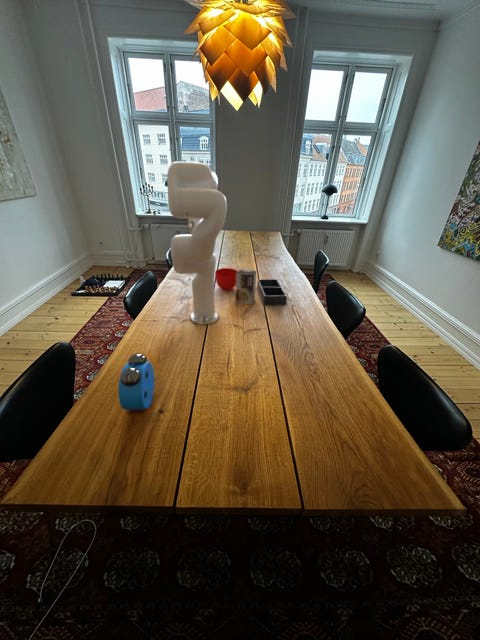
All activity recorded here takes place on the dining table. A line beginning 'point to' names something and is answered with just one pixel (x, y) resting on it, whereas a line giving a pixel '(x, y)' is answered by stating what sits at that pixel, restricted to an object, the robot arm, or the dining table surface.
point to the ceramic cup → (226, 278)
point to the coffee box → (245, 286)
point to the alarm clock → (136, 383)
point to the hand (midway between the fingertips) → (197, 242)
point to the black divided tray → (271, 292)
